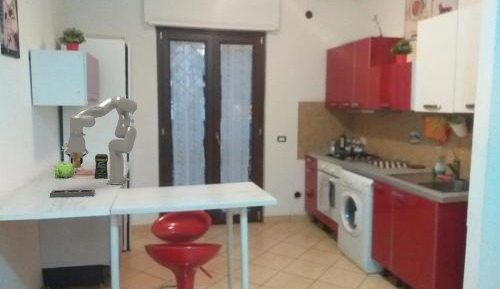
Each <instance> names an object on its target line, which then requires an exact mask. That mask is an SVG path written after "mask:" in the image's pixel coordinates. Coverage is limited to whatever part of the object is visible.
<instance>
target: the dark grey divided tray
mask: <svg viewBox="0 0 500 289" xmlns="http://www.w3.org/2000/svg"><path fill="white" fill-rule="evenodd" d="M94 194H95V195H96V189H54V190H51V192H49V198H78V197H79V198H85V197H84V196H92V197H94V196H95V195H94Z"/></svg>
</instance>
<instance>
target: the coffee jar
mask: <svg viewBox="0 0 500 289" xmlns="http://www.w3.org/2000/svg"><path fill="white" fill-rule="evenodd" d="M94 161H95V169H94V178H95V179H98V178H104V179H107V177H108V178H109V169H108V161H109V156H108V154H107V153H97V154H95V156H94Z"/></svg>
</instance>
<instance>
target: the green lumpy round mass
mask: <svg viewBox="0 0 500 289" xmlns="http://www.w3.org/2000/svg"><path fill="white" fill-rule="evenodd" d="M53 168H54V177H57V179H61V178H64V179H68V178H72V176H75V173H74V168H73V164H72V163H70V164H68V163H67V162H62V163H60V164H57V165H53Z"/></svg>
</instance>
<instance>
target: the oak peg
mask: <svg viewBox="0 0 500 289" xmlns="http://www.w3.org/2000/svg"><path fill="white" fill-rule="evenodd" d="M80 158H81V156H80V152H72V159H73V168H77V169H81V168H82V164H80Z"/></svg>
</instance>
